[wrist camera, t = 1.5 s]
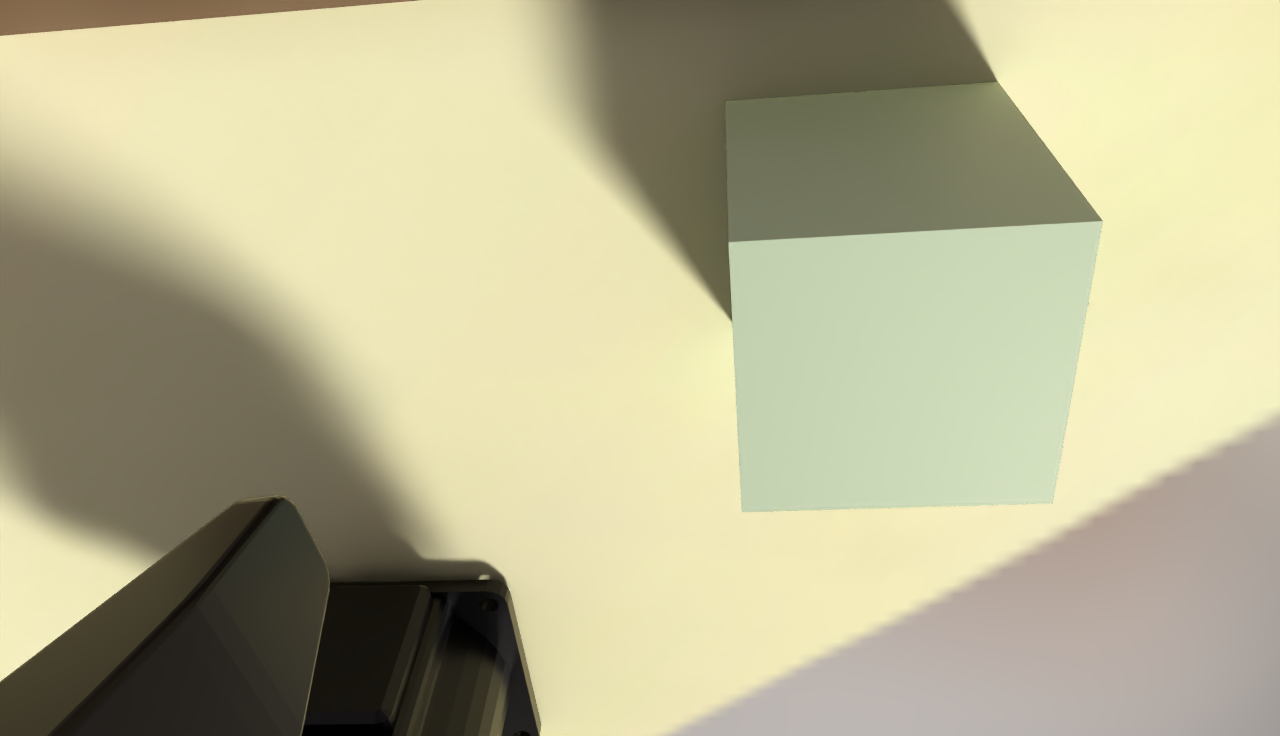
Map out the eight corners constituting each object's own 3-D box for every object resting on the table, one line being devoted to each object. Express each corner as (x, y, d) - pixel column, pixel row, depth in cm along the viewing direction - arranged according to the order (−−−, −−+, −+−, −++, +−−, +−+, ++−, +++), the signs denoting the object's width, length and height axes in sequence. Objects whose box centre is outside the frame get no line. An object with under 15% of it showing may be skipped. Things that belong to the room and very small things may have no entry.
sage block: (972, 314, 21) (1052, 503, 16) (735, 325, 22) (741, 512, 17) (996, 80, 18) (1102, 220, 13) (724, 99, 19) (728, 242, 14)
